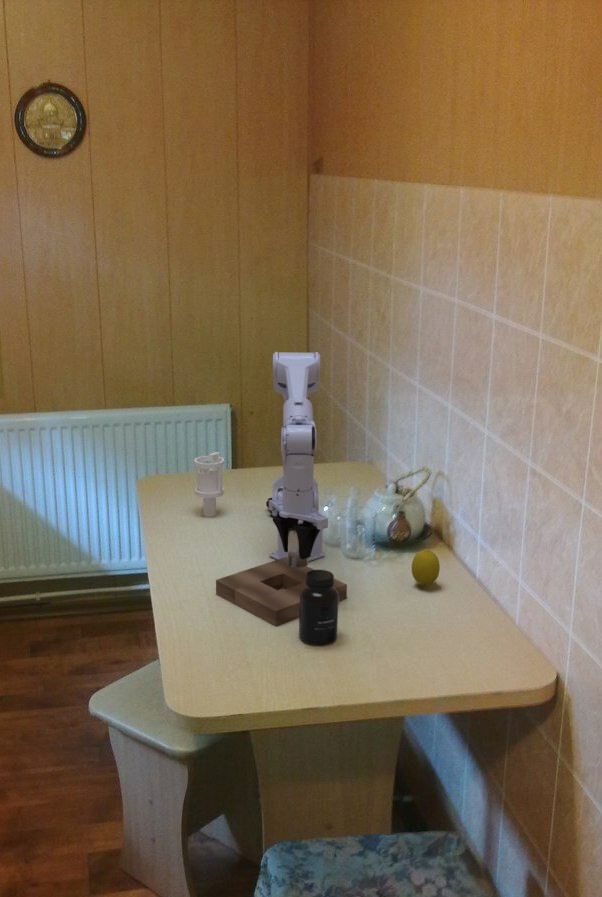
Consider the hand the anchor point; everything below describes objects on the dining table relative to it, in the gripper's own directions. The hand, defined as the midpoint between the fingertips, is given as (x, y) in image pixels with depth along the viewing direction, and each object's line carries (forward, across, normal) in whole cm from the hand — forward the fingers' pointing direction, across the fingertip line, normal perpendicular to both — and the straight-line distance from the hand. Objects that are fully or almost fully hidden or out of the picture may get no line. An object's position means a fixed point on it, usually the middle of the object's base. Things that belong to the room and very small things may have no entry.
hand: (297, 554), depth 178 cm
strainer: (+9, -48, +15) cm, 51 cm away
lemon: (+9, +13, +23) cm, 28 cm away
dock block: (+9, -2, -2) cm, 9 cm away
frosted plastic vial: (+2, 0, 0) cm, 2 cm away
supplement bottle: (+9, +15, -8) cm, 19 cm away
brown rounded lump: (+9, -34, +27) cm, 44 cm away
